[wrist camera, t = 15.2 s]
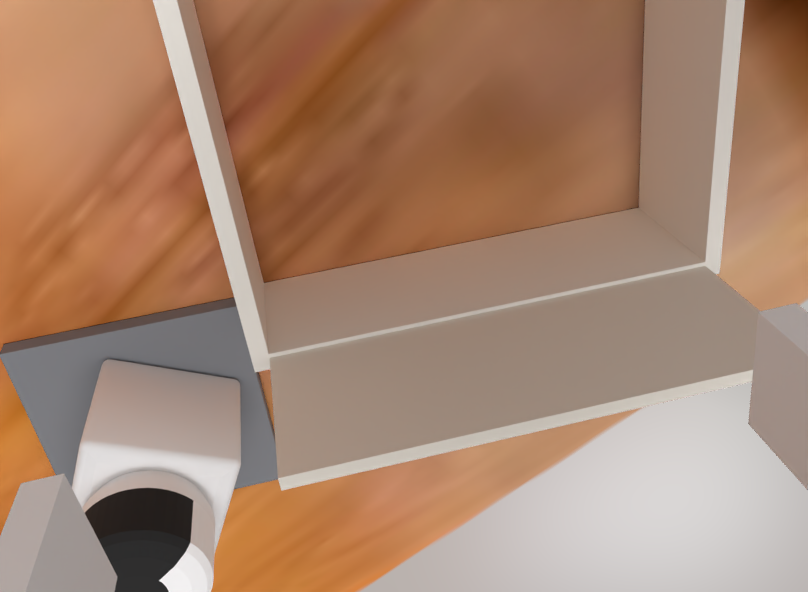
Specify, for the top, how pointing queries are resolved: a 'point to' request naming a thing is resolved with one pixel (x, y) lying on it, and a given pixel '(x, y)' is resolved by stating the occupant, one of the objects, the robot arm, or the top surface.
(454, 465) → the top surface
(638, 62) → the top surface
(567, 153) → the top surface
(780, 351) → the robot arm
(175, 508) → the medicine bottle
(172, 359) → the mat
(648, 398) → the carton
